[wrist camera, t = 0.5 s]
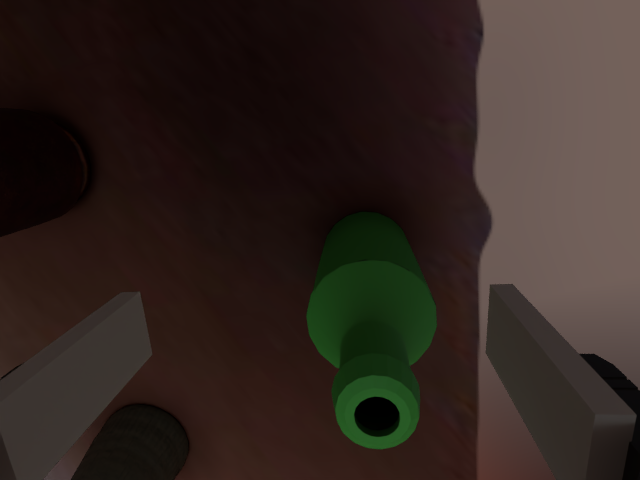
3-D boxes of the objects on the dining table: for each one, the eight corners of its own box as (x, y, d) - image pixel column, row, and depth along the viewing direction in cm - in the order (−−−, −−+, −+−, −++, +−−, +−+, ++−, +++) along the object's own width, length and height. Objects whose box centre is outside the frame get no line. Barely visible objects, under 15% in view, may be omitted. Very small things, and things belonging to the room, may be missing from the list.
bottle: (319, 214, 42) (268, 336, 18) (405, 204, 41) (474, 322, 17) (329, 293, 44) (297, 496, 20) (410, 286, 43) (479, 491, 19)
